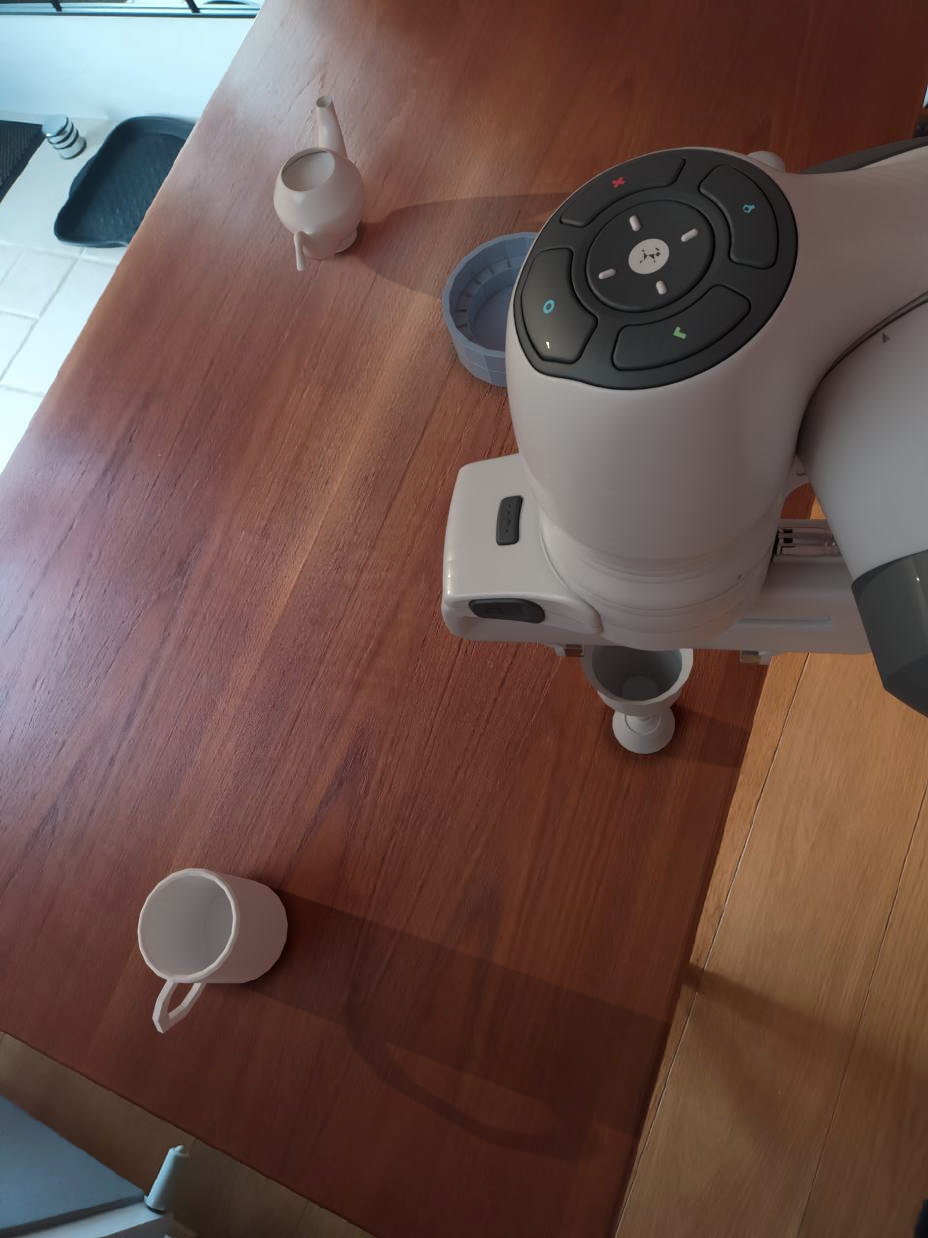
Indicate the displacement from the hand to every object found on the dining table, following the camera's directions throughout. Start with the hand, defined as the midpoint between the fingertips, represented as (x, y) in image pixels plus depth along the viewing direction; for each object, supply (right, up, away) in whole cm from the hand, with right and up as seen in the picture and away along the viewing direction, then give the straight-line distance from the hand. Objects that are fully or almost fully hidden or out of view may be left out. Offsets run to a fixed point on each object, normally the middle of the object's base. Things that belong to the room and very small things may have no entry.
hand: (661, 646), depth 51 cm
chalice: (+4, -7, +28) cm, 29 cm away
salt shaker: (+17, +35, +42) cm, 57 cm away
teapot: (-24, +43, +54) cm, 73 cm away
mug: (-30, -26, +28) cm, 49 cm away
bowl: (-4, +30, +44) cm, 54 cm away
